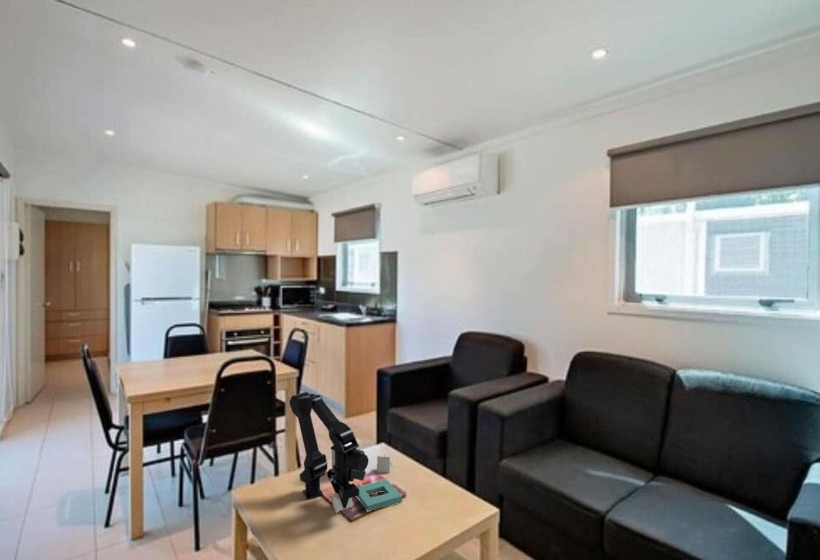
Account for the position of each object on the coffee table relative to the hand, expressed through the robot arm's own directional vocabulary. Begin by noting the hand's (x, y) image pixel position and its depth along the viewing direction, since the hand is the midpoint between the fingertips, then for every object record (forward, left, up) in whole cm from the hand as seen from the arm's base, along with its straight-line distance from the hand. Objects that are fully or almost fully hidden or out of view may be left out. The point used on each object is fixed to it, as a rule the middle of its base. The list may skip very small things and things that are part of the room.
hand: (342, 504), depth 154 cm
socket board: (0, +14, -1) cm, 14 cm away
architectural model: (-18, +25, -2) cm, 31 cm away
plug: (0, 0, -1) cm, 1 cm away
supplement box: (-24, +8, -2) cm, 25 cm away
